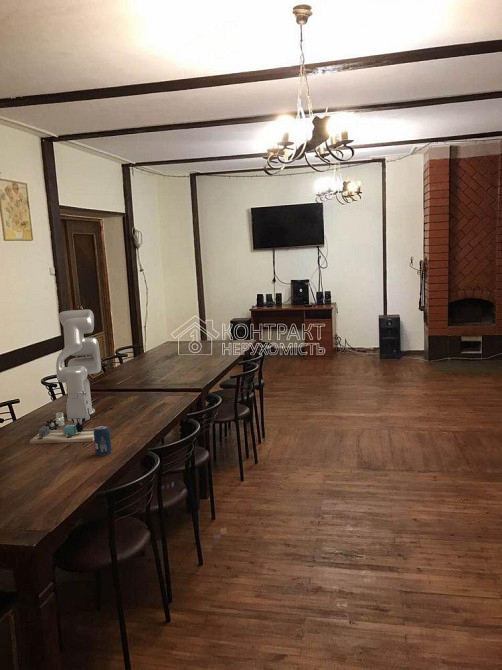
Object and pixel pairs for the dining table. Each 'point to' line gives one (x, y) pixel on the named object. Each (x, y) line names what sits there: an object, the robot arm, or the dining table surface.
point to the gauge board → (61, 436)
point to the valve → (56, 421)
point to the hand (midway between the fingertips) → (80, 431)
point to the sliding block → (69, 430)
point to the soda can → (102, 440)
